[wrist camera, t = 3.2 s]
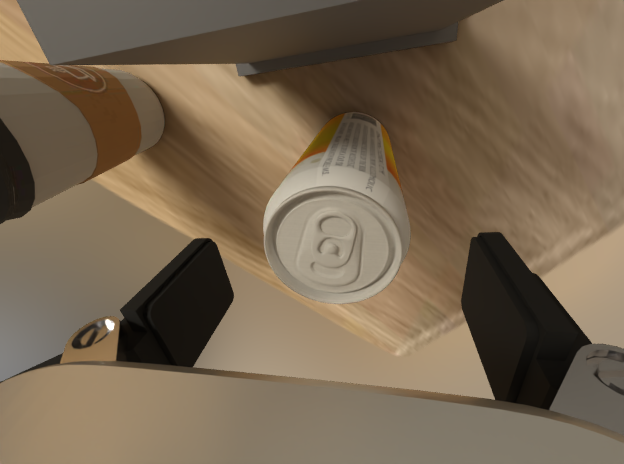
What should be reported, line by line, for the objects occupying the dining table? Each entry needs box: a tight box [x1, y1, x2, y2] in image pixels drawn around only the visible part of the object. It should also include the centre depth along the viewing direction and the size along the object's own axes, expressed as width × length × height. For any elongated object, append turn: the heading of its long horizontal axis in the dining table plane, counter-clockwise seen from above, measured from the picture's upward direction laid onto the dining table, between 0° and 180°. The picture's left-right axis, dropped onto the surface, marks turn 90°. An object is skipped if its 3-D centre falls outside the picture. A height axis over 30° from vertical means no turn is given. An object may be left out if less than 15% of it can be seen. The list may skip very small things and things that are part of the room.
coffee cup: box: [0, 60, 165, 224], centre depth 19 cm, size 8×8×15 cm
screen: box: [17, 0, 503, 76], centre depth 13 cm, size 3×15×16 cm, turn 98°
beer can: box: [263, 112, 411, 304], centre depth 17 cm, size 6×6×15 cm
